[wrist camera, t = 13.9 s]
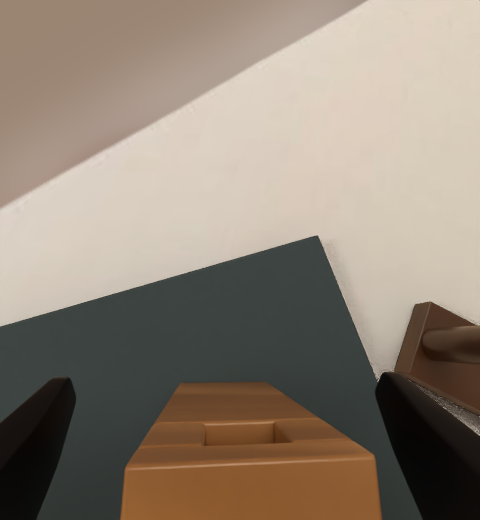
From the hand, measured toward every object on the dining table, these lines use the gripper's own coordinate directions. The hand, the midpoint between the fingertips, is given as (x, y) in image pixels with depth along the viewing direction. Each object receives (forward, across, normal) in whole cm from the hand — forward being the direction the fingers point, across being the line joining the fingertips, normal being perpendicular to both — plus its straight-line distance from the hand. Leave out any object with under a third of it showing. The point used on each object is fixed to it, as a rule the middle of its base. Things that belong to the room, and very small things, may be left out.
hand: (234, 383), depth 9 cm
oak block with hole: (+3, 0, +5) cm, 6 cm away
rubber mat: (+3, +1, +6) cm, 7 cm away
